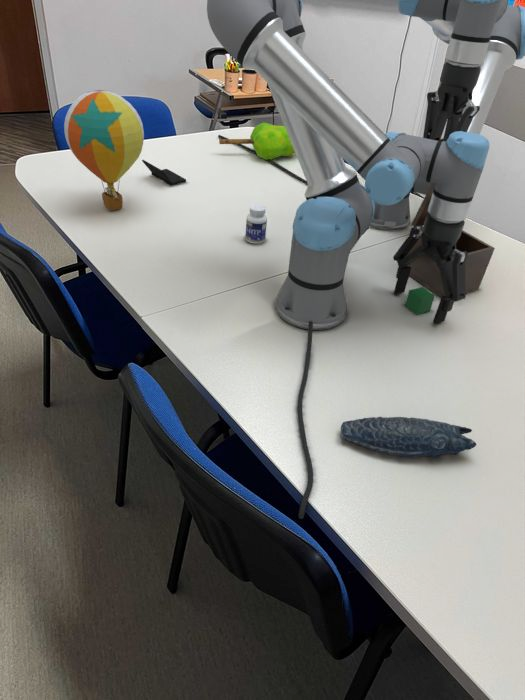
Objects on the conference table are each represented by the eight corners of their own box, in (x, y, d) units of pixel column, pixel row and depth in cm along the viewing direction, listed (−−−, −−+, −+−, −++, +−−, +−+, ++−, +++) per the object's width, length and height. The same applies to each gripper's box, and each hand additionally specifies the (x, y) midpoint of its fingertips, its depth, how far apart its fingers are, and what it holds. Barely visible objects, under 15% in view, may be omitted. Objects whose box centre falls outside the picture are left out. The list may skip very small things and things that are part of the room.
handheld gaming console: (190, 175, 164) (173, 153, 156) (179, 193, 163) (161, 172, 155) (166, 170, 170) (147, 148, 162) (155, 188, 169) (136, 167, 161)
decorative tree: (216, 119, 186) (297, 119, 192) (216, 149, 193) (294, 148, 198) (222, 134, 173) (309, 133, 178) (222, 165, 179) (306, 163, 185)
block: (430, 310, 116) (435, 295, 114) (416, 314, 115) (421, 299, 112) (418, 301, 119) (422, 286, 116) (404, 305, 117) (409, 290, 115)
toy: (64, 203, 145) (44, 85, 127) (127, 189, 156) (117, 79, 137) (97, 229, 134) (80, 105, 116) (162, 213, 145) (156, 96, 126)
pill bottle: (242, 241, 135) (244, 209, 130) (249, 233, 139) (251, 201, 134) (261, 245, 134) (263, 213, 129) (268, 237, 138) (270, 205, 132)
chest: (478, 289, 125) (495, 247, 118) (444, 300, 120) (459, 257, 113) (433, 260, 135) (446, 220, 128) (400, 269, 130) (411, 228, 123)
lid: (481, 162, 115) (457, 142, 119) (445, 167, 110) (420, 146, 114) (448, 219, 127) (427, 200, 131) (414, 227, 122) (393, 206, 126)
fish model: (474, 470, 81) (484, 449, 78) (339, 453, 82) (344, 431, 79) (465, 439, 86) (475, 417, 83) (339, 423, 87) (344, 401, 84)
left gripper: (508, 239, 97) (470, 331, 110) (417, 191, 113) (394, 277, 126) (480, 246, 93) (445, 340, 107) (391, 196, 109) (370, 283, 123)
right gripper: (503, 70, 103) (466, 185, 118) (449, 55, 113) (421, 164, 128) (478, 72, 100) (442, 190, 115) (424, 56, 110) (398, 167, 124)
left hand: (418, 306), depth 116 cm, fingers open, 12 cm apart
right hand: (431, 176), depth 121 cm, fingers closed on lid, 2 cm apart
